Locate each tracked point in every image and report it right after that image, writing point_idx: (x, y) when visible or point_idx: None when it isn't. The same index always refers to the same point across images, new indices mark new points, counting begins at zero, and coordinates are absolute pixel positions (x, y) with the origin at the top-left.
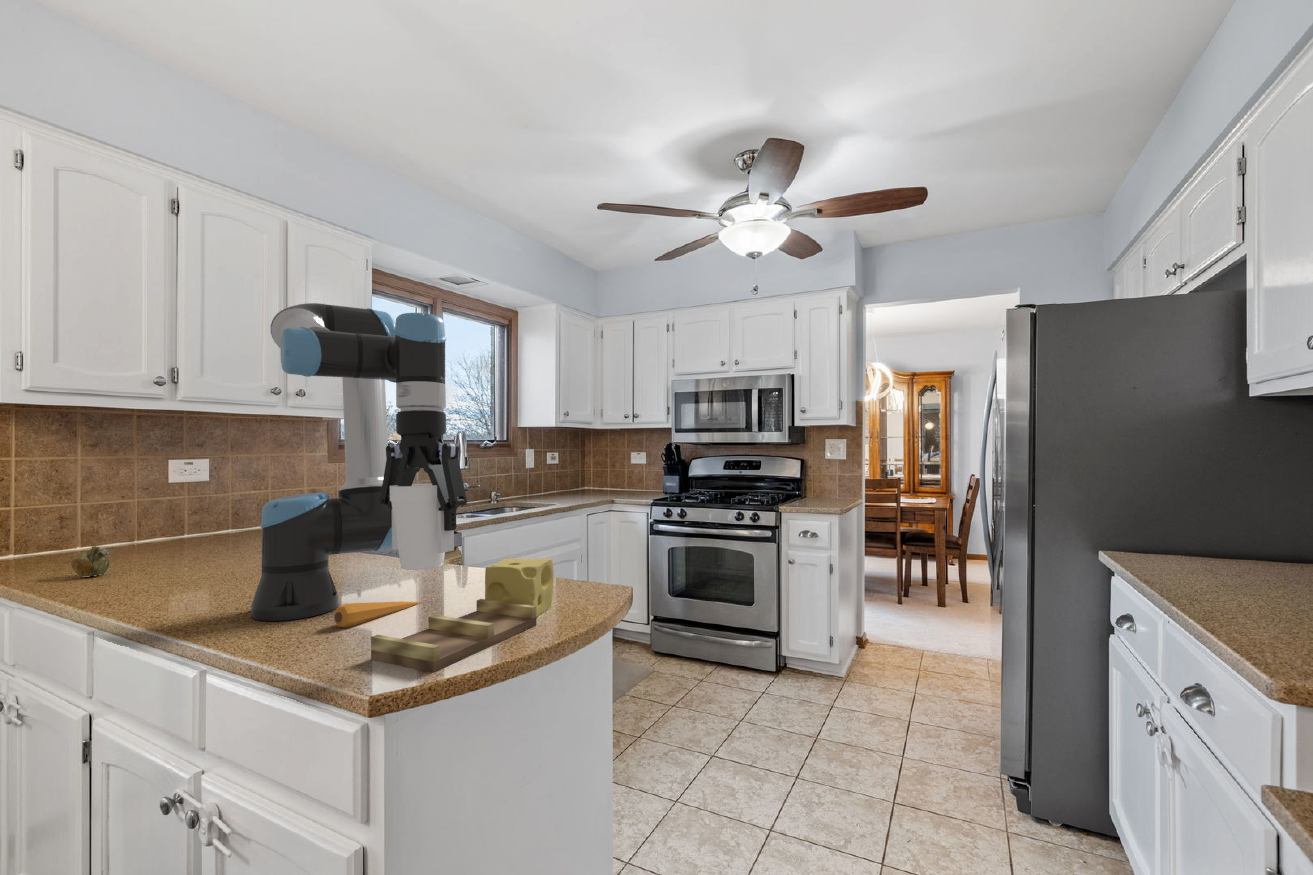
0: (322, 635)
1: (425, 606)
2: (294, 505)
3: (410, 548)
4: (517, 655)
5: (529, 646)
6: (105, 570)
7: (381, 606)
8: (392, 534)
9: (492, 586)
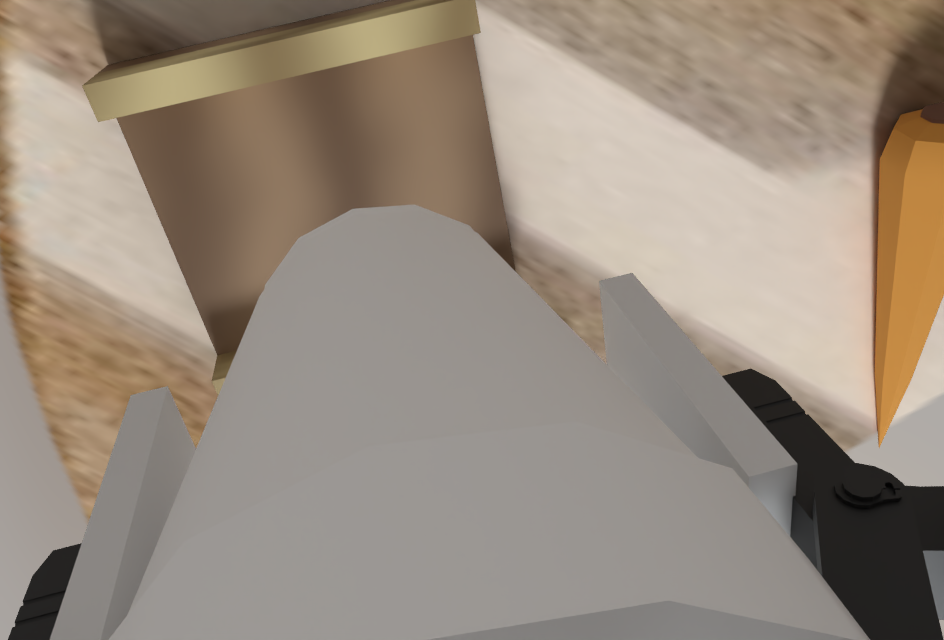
0: (901, 16)
1: (830, 431)
2: None
3: (309, 274)
4: (55, 356)
5: (117, 429)
6: None
7: (900, 294)
8: (671, 328)
9: None
